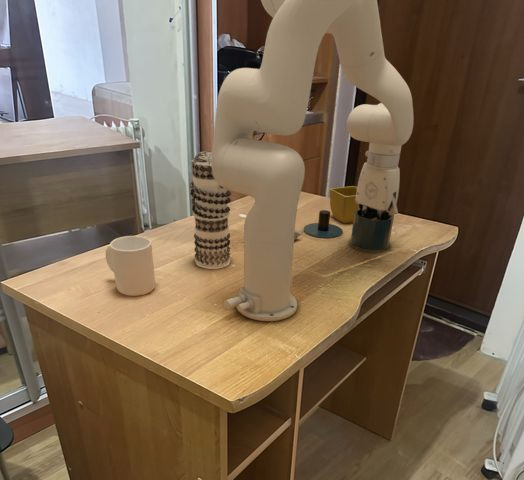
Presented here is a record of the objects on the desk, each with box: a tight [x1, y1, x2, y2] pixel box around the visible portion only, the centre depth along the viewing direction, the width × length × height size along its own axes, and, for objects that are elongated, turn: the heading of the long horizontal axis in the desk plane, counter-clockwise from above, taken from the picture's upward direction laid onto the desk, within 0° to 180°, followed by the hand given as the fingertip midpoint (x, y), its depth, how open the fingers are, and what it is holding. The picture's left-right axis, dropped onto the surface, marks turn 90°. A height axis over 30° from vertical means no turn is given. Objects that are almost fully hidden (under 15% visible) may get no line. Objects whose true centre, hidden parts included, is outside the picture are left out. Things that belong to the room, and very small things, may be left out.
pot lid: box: [303, 209, 343, 239], centre depth 136 cm, size 11×11×6 cm
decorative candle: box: [189, 150, 232, 270], centre depth 112 cm, size 9×9×25 cm
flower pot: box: [329, 185, 360, 224], centre depth 144 cm, size 9×9×9 cm
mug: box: [105, 235, 156, 297], centre depth 104 cm, size 12×8×10 cm
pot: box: [350, 209, 395, 252], centre depth 129 cm, size 10×10×8 cm
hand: (371, 231), depth 129 cm, fingers closed on hot dog, 3 cm apart
